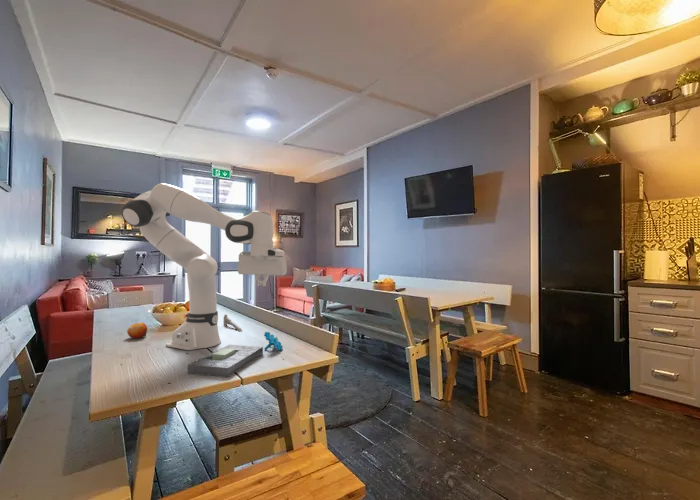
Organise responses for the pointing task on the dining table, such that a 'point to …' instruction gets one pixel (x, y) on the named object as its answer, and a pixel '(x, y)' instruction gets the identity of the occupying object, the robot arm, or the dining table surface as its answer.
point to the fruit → (137, 330)
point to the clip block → (223, 354)
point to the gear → (272, 341)
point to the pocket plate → (225, 361)
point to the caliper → (230, 323)
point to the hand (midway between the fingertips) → (261, 286)
